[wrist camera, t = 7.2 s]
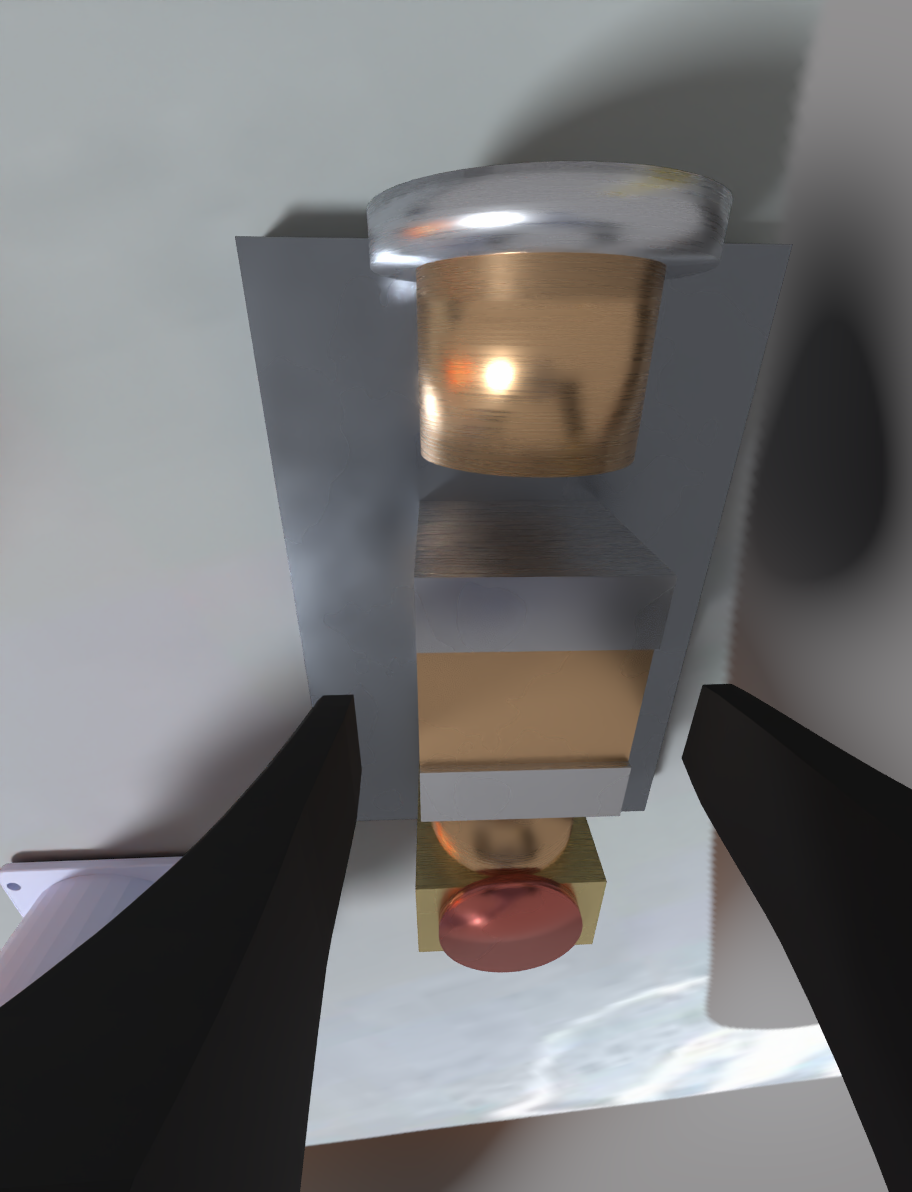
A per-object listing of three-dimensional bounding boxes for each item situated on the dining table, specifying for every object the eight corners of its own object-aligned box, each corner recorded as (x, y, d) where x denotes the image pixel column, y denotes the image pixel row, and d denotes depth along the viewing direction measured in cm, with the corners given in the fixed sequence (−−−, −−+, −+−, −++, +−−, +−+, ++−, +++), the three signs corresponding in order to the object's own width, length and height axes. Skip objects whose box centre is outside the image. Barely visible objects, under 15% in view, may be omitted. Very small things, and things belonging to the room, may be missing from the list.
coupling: (569, 690, 16) (619, 815, 12) (423, 694, 16) (421, 821, 12) (597, 500, 13) (677, 575, 9) (419, 500, 13) (413, 578, 9)
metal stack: (630, 794, 20) (708, 969, 15) (337, 804, 20) (300, 990, 14) (760, 253, 12) (1062, 171, 6) (253, 246, 11) (76, 150, 6)
